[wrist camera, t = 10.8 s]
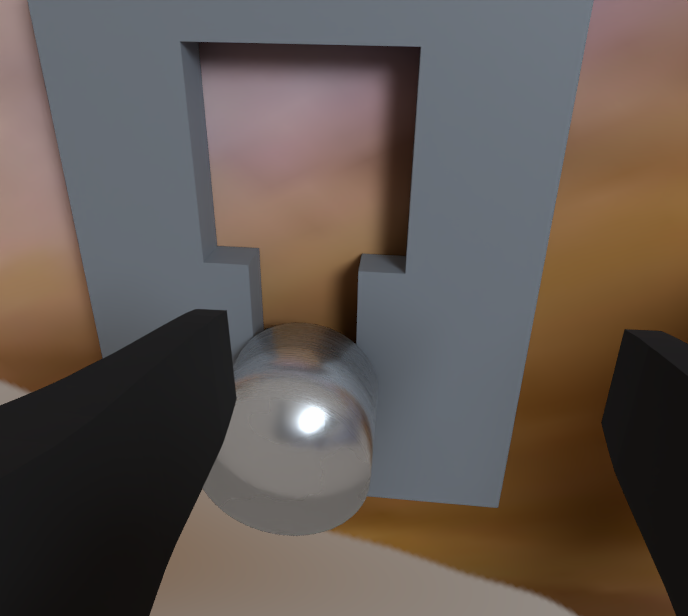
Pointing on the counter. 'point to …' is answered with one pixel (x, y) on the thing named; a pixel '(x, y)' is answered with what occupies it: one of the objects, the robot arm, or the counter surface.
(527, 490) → the counter surface
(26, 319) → the counter surface
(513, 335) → the keyhole plate
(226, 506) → the headed peg
